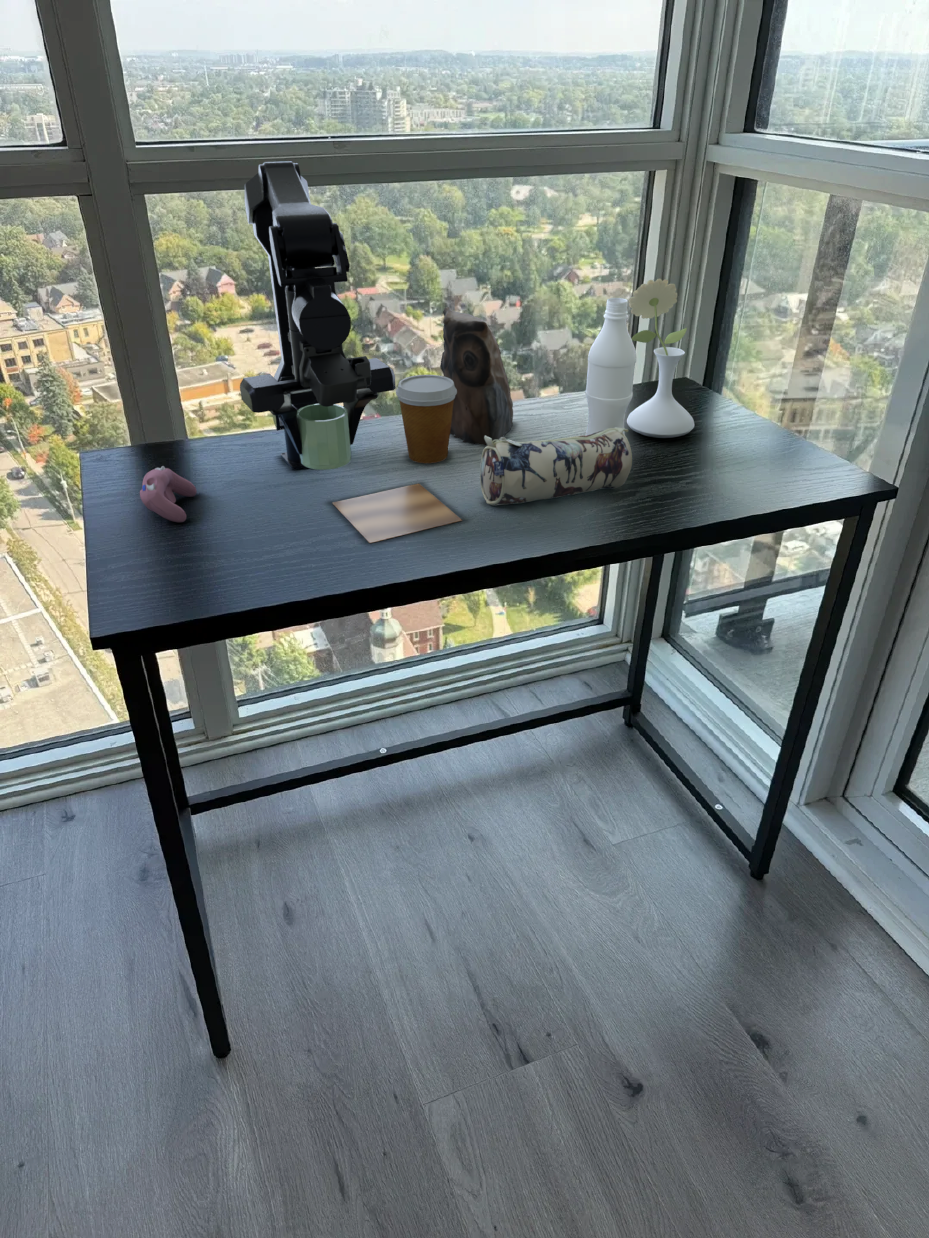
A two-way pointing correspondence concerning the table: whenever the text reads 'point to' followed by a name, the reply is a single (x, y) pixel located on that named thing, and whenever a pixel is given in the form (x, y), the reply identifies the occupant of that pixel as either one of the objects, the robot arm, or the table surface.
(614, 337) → the water bottle
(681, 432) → the flower in vase
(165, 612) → the table surface
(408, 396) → the disposable coffee cup
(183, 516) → the video game controller
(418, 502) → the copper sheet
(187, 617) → the table surface
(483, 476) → the pencil case
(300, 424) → the glazed cup
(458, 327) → the owl
